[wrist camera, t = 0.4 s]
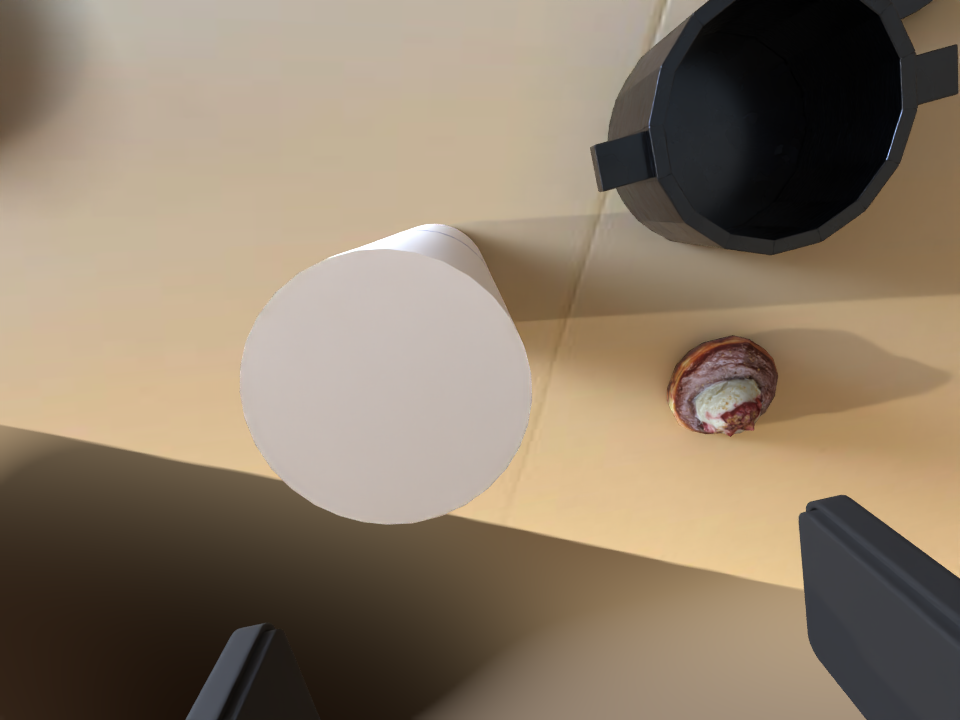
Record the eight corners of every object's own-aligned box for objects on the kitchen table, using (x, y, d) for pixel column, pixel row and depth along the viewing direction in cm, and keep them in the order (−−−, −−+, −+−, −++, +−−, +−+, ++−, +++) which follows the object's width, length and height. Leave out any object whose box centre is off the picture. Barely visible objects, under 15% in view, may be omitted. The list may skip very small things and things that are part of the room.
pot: (547, 67, 34) (574, 22, 26) (844, -17, 33) (969, -92, 25) (590, 276, 38) (626, 294, 29) (859, 203, 37) (972, 202, 29)
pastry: (678, 444, 41) (707, 475, 36) (650, 357, 39) (676, 377, 35) (778, 406, 41) (821, 433, 36) (755, 316, 39) (797, 331, 34)
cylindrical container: (497, 237, 37) (564, 286, 13) (474, 336, 38) (495, 545, 14) (393, 212, 36) (258, 216, 12) (375, 315, 38) (225, 496, 14)
